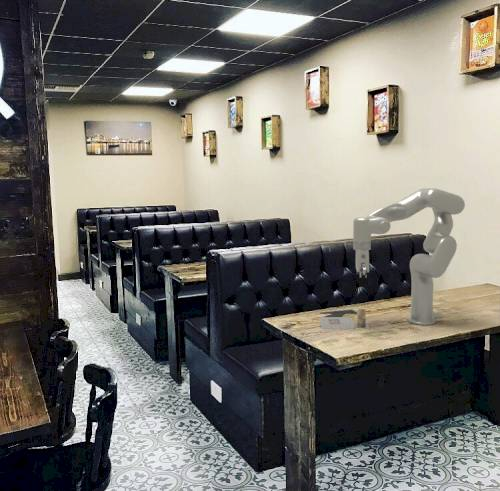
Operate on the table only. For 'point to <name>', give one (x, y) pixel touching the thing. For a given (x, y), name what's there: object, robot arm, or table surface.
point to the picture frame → (338, 312)
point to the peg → (361, 317)
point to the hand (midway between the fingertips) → (361, 284)
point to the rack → (339, 323)
